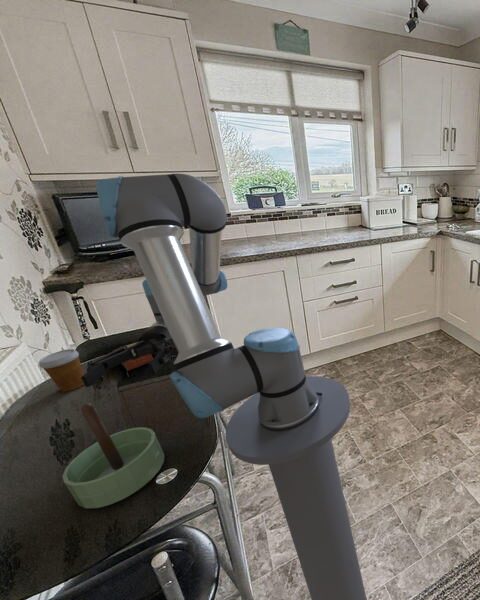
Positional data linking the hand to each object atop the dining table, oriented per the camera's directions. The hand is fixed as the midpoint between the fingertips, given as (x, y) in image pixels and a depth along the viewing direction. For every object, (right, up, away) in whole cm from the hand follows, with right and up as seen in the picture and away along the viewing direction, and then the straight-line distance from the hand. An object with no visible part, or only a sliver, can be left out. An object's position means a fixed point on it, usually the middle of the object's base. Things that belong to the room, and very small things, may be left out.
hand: (118, 375), depth 76 cm
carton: (-36, -6, +50) cm, 62 cm away
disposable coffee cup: (-46, -12, +36) cm, 60 cm away
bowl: (+5, -22, -4) cm, 22 cm away
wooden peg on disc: (+5, -21, -4) cm, 22 cm away
